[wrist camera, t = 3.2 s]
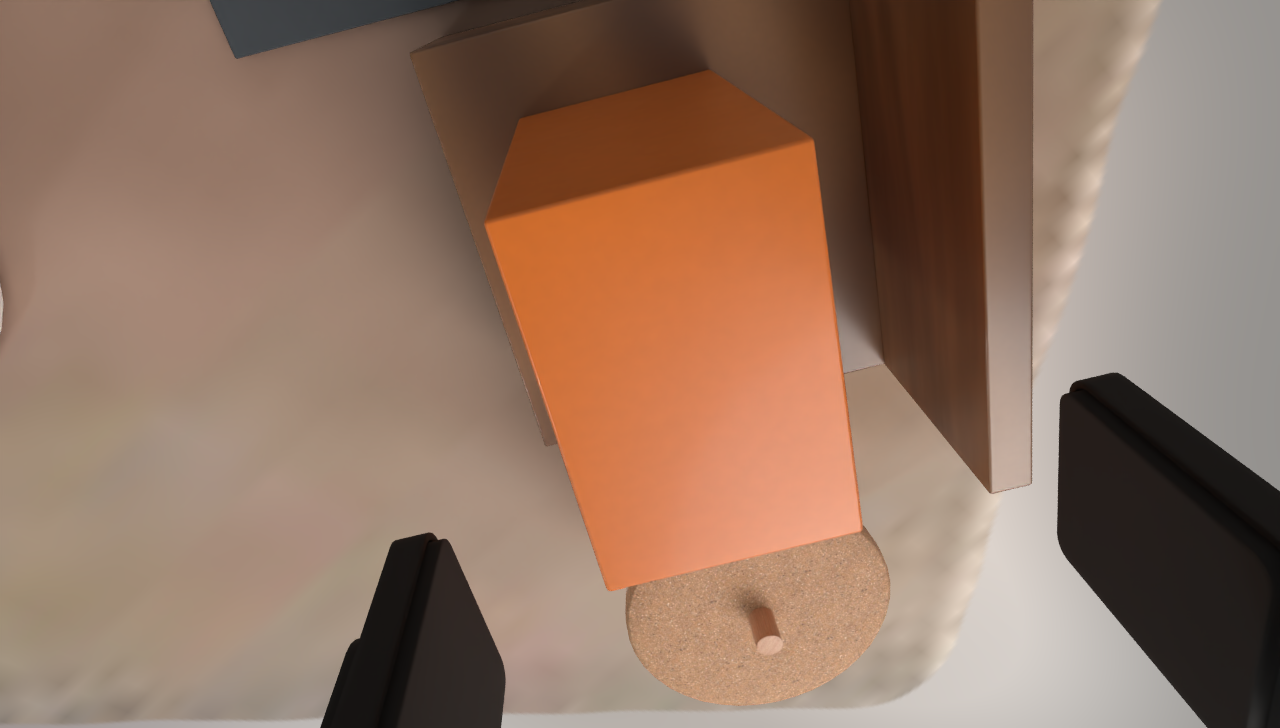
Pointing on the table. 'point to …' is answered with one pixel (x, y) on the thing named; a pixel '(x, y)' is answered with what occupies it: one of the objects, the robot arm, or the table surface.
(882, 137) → the wooden toy chair
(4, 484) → the table surface
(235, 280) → the table surface
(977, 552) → the table surface
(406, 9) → the mat
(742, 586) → the trinket box
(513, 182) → the block
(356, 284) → the table surface
